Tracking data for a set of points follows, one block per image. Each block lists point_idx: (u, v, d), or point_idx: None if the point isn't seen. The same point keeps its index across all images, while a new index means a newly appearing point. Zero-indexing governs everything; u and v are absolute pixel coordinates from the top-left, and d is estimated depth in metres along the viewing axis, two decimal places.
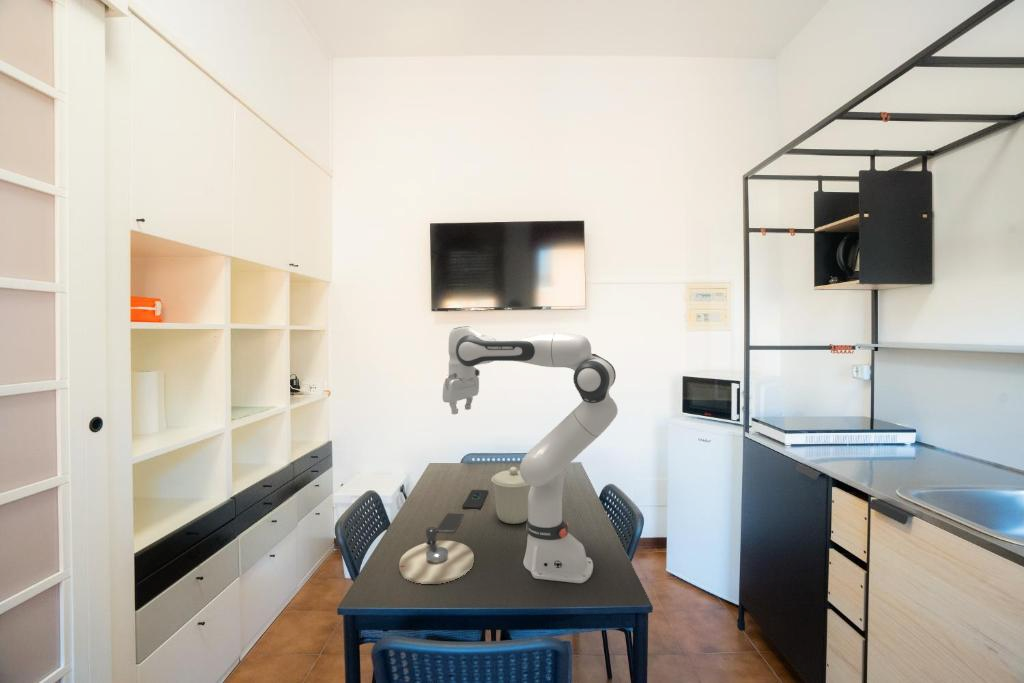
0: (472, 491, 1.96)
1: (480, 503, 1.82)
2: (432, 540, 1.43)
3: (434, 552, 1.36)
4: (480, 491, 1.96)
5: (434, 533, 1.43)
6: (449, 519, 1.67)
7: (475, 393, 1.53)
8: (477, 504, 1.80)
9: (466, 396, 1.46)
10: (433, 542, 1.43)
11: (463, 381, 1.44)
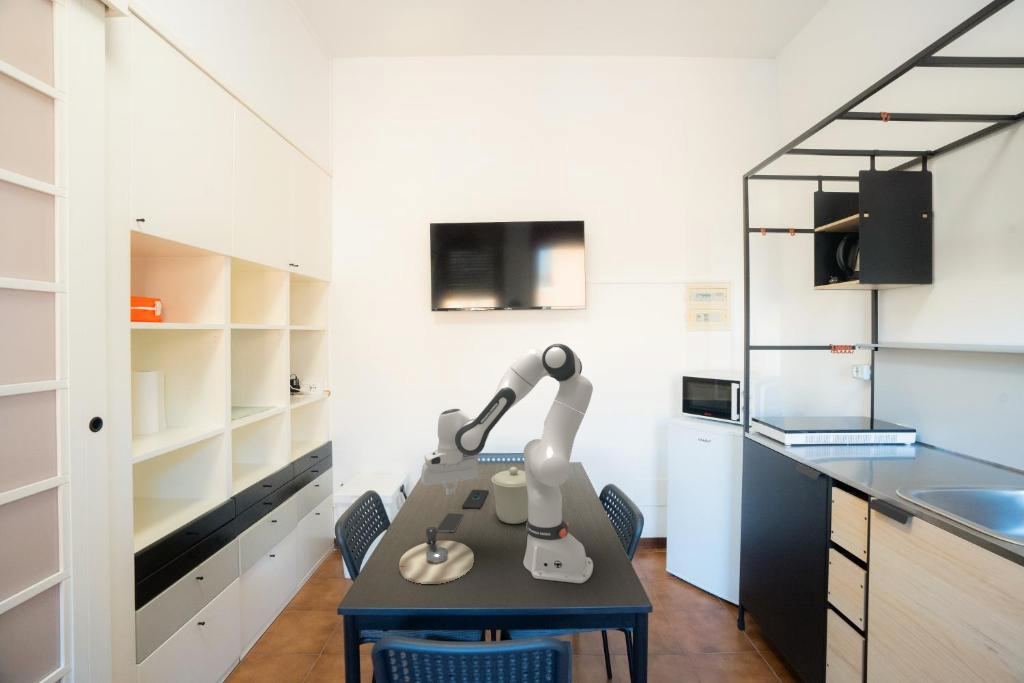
0: (473, 491, 1.96)
1: (480, 503, 1.82)
2: (432, 540, 1.43)
3: (434, 552, 1.36)
4: (480, 491, 1.96)
5: (434, 533, 1.43)
6: (449, 519, 1.67)
7: None
8: (476, 504, 1.80)
9: None
10: (433, 542, 1.43)
11: None
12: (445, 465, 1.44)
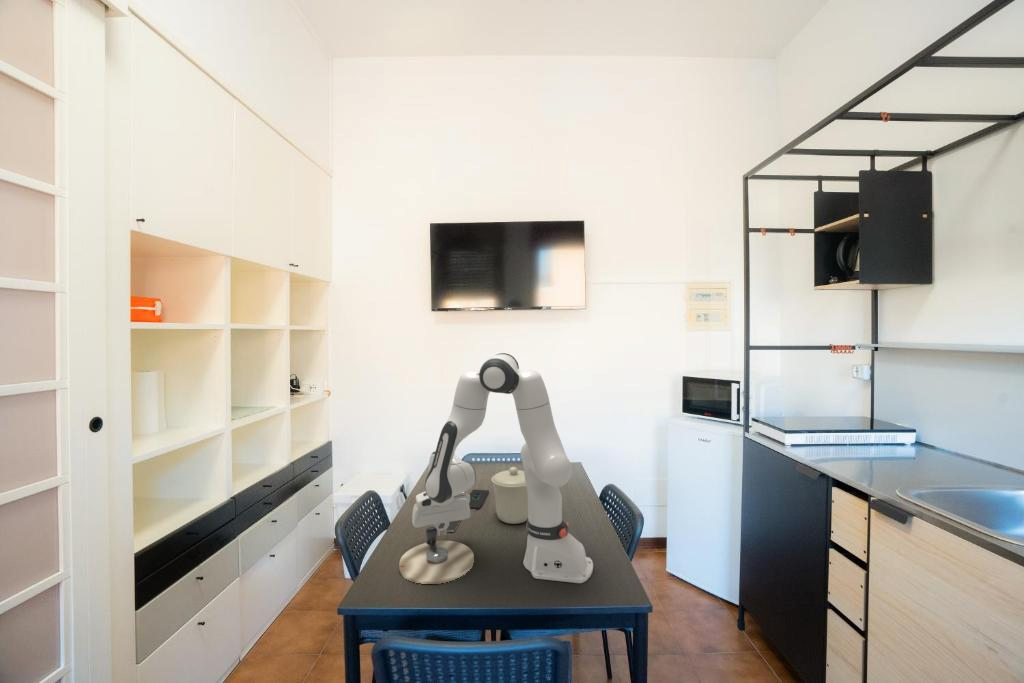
0: (473, 491, 1.96)
1: (480, 503, 1.82)
2: (432, 540, 1.43)
3: (434, 552, 1.36)
4: (481, 491, 1.96)
5: (434, 533, 1.43)
6: None
7: None
8: (476, 504, 1.80)
9: None
10: (433, 542, 1.43)
11: None
12: (436, 506, 1.43)
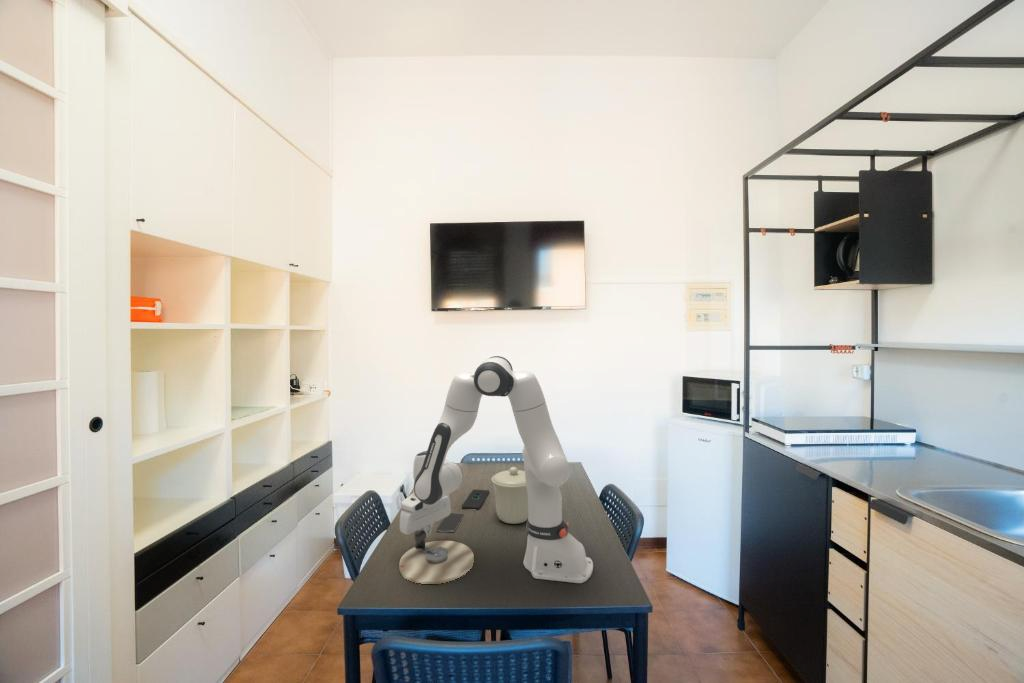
0: (473, 491, 1.96)
1: (480, 503, 1.82)
2: (422, 543, 1.41)
3: (434, 553, 1.36)
4: (481, 491, 1.96)
5: (424, 536, 1.41)
6: (449, 519, 1.67)
7: None
8: (476, 504, 1.80)
9: None
10: (423, 545, 1.41)
11: None
12: (425, 509, 1.41)
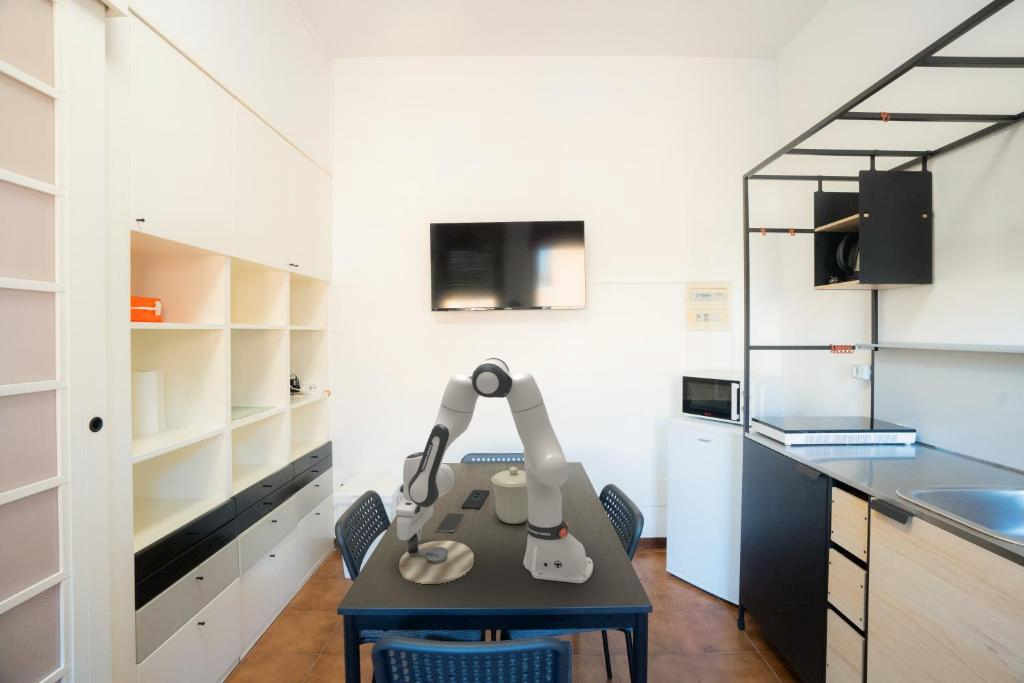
0: (473, 491, 1.96)
1: (479, 503, 1.82)
2: (417, 547, 1.38)
3: (435, 553, 1.35)
4: (481, 491, 1.96)
5: None
6: (449, 519, 1.67)
7: None
8: (476, 505, 1.80)
9: None
10: (417, 549, 1.39)
11: None
12: (419, 511, 1.39)
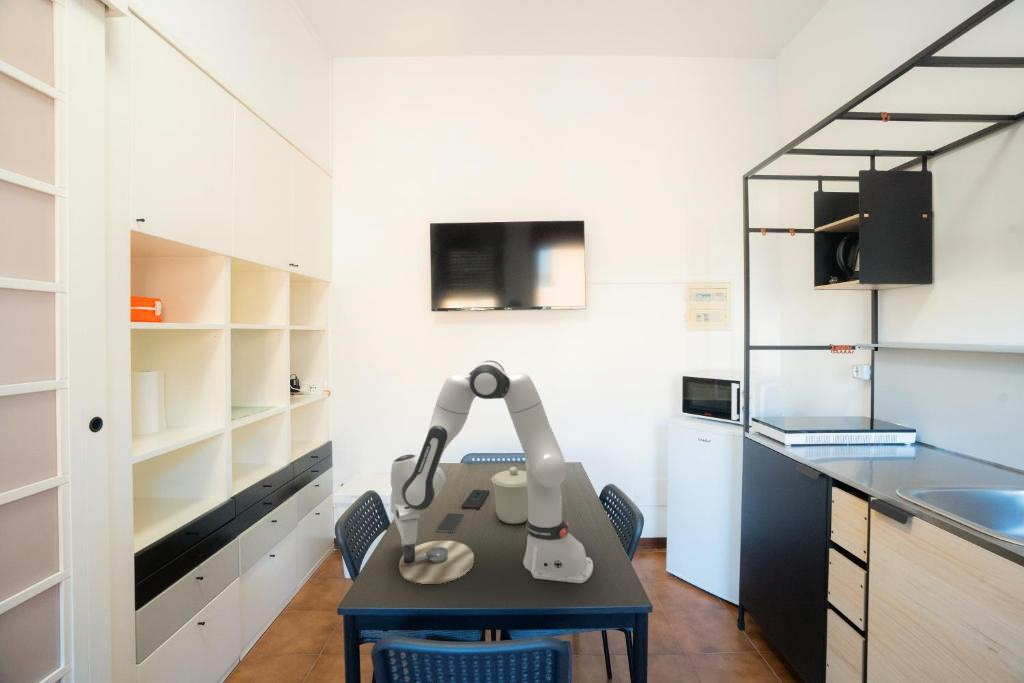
0: (474, 491, 1.96)
1: (479, 503, 1.81)
2: (414, 554, 1.33)
3: (437, 553, 1.35)
4: (481, 491, 1.96)
5: None
6: (449, 519, 1.67)
7: (403, 539, 1.31)
8: (476, 505, 1.80)
9: (399, 531, 1.37)
10: None
11: None
12: None
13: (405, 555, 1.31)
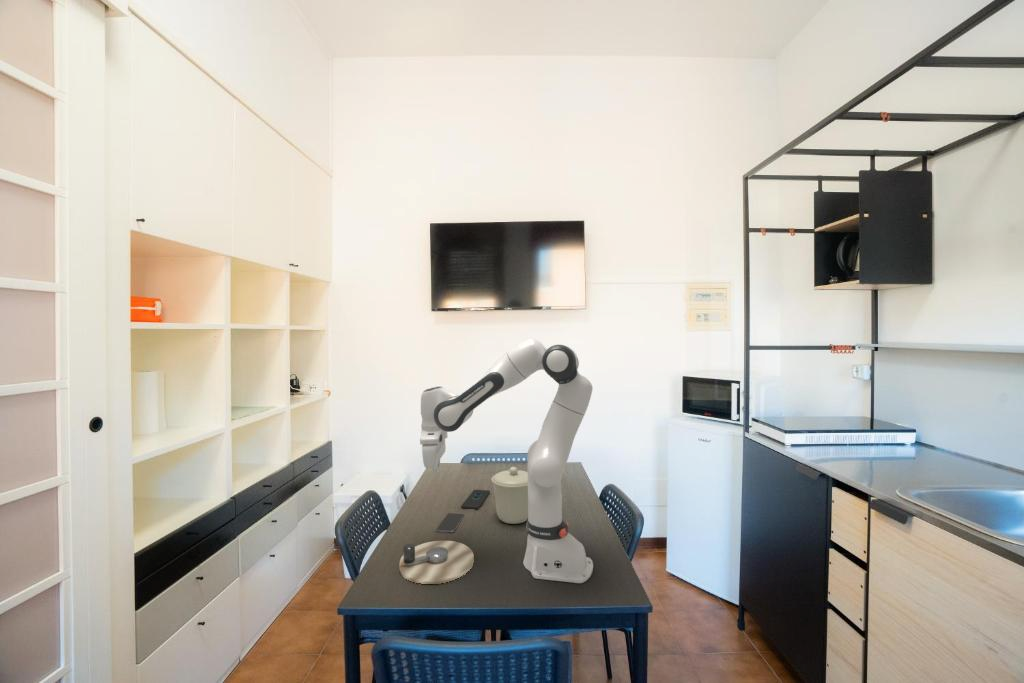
0: (474, 491, 1.96)
1: (479, 503, 1.81)
2: (414, 554, 1.33)
3: (437, 553, 1.35)
4: (482, 491, 1.96)
5: None
6: (449, 519, 1.67)
7: None
8: (475, 505, 1.80)
9: None
10: None
11: None
12: None
13: (405, 555, 1.31)
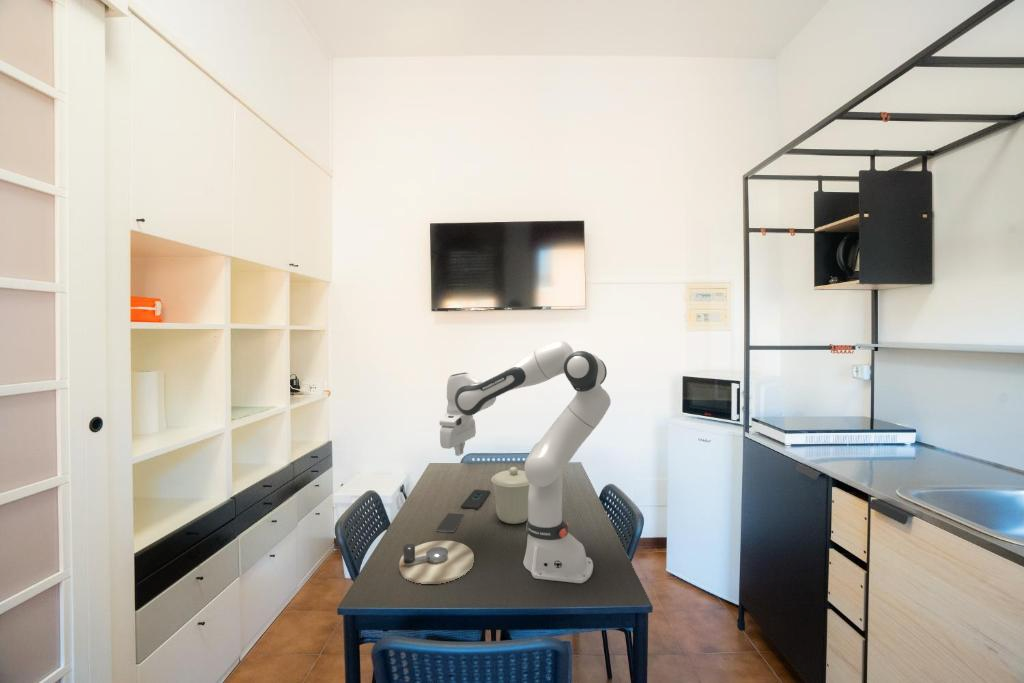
0: (474, 491, 1.96)
1: (479, 503, 1.81)
2: (414, 554, 1.33)
3: (437, 553, 1.35)
4: (482, 491, 1.95)
5: None
6: (449, 519, 1.67)
7: None
8: (475, 505, 1.80)
9: None
10: None
11: None
12: (461, 426, 1.49)
13: (405, 555, 1.31)
